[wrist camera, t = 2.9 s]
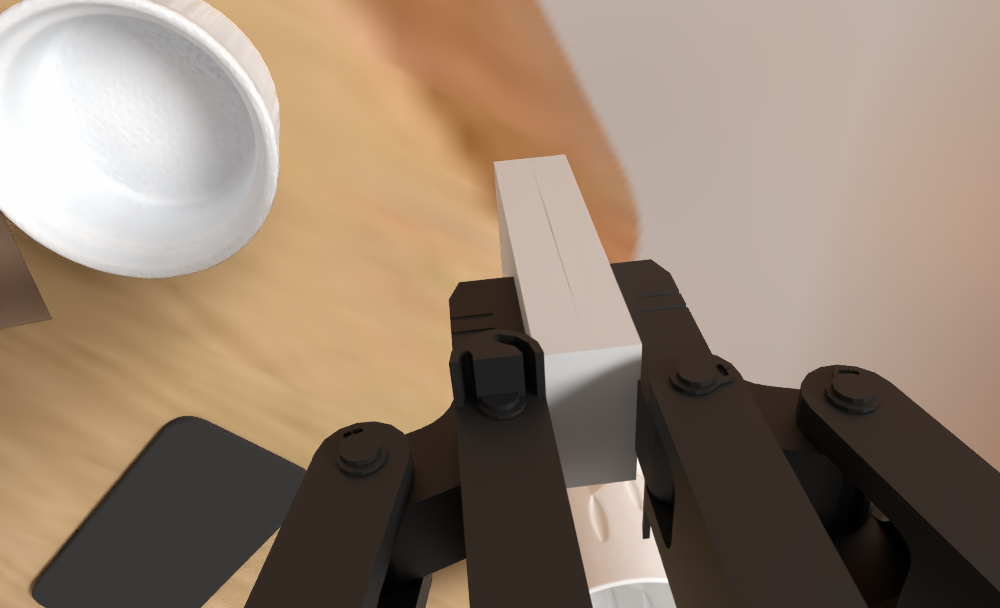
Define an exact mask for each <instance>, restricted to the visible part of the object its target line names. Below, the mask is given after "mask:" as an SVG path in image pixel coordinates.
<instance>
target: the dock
mask: <svg viewBox="0 0 1000 608" xmlns="http://www.w3.org/2000/svg"><path fill="white" fill-rule="evenodd" d="M50 319H52V318H51V315H50V313H49V311H48V309H47V307H46V305H45V303H44V301H43V299H42V297H41V295H40V293H39V290H38V288H37V286H36V284H35V282H34V280H33V278H32V276H31V274H30V272H29V270H28V267H27V265H26V263H25V261H24V259H23V257H22V255H21V253H20V251H19V249H18V247H17V244H16V242H15V240H14V238H13V236H12V234H11V232H10V230H9V228H8V226H7V224H6V221H5V219H4V217H3V215H2V213H1V211H0V329H1V328H7V327H12V326H17V325H23V324H28V323H34V322H39V321H44V320H50Z"/></svg>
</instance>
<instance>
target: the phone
mask: <svg viewBox="0 0 1000 608" xmlns="http://www.w3.org/2000/svg"><path fill="white" fill-rule="evenodd" d="M306 472H307V471H306V470H305V469H303V468H302V467H300V466H298V465H296V464H294V463H292V462H290V461H288V460H286V459H284V458H282V457H280V456H278V455H276V454H274V453H272V452H270V451H268V450H266V449H264V448H262V447H260V446H258V445H256V444H254V443H252V442H250V441H248V440H246V439H244V438H242V437H239V436H237V435H235V434H233V433H231V432H229V431H227V430H225V429H223V428H221V427H219V426H217V425H215V424H213V423H211V422H209V421H206V420H204V419H201V418H198V417H193V416H182V417H178V418H176V419H174V420H172V421H170V422H169V423H168V424H167V425H166V426H165V427H164V428H163V429H162V430H161V432H160V433H159V434H158V435H157V436H156V438H155V439H154V440H153V441H152V442H151V444H150V445H149V446H148V447H147V448H146V450H145V451H144V452H143V453H142V454H141V456H140V457H139V458H138V459H137V460H136V462H135V463H134V464H133V465H132V466H131V468H130V469H129V470H128V471H127V472H126V474H125V475H124V476H123V477H122V478H121V480H120V481H119V482H118V483H117V484H116V486H115V487H114V488H113V489H112V490H111V492H110V493H109V494H108V495H107V496H106V498H105V499H104V500H103V501H102V502H101V504H100V505H99V506H98V507H97V508H96V510H95V511H94V512H93V513H92V514H91V516H90V517H89V518H88V519H87V520H86V522H85V523H84V524H83V525H82V526H81V528H80V529H79V530H77V531H76V532H75V533H74V534H73V536H72V537H71V538H70V539H69V541H68V542H67V543H66V544H65V545H64V547H63V548H62V549H61V551H60V553H59V554H58V555H57V556H56V558H55V559H54V560H53V561H52V562H51V564H50V565H49V566H48V567H47V568H46V570H45V571H44V572H43V573H42V574H41V576H40V577H39V578H38V580H37V582H36V584H35V586H34V588H33V591H32V595H33V598H34V599H35V601H36V602H38V603H39V604H40V605H42V606H44V607H46V608H201V607H202V606H203V605H204V604H205V603H206V602H207V601H208V600H209V599H210V598H211V597H212V596H213V595H214V594H215V593H216V591H217V590H218V589H219V588H220V587H221V586H222V585H223V584H224V583H225V582H226V581H227V580H228V579H229V578H230V577H231V576H232V575H233V574H234V573H235V572H236V571H237V570H238V569H239V568H240V567H241V566H242V565H243V564H244V563H245V562H246V561H247V560H248V559H249V558H250V557H251V556H252V555H253V554H254V553H255V552H256V551H257V550H258V549H259V548H260V547H261V546H262V545H263V544H264V543H265V542H266V541H267V540H268V539H269V538H270V537H271V536H272V535H273V534H274V533H275V532H276V531H277V530H278V529H279V528H280V527H281V526H282V524H283V522H284V519H285V517H286V515H287V513H288V511H289V509H290V506H291V504H292V502H293V500H294V498H295V495H296V493H297V491H298V489H299V487H300V485H301V482H302V480H303V478H304V476H305V474H306Z"/></svg>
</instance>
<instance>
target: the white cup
mask: <svg viewBox="0 0 1000 608" xmlns="http://www.w3.org/2000/svg"><path fill="white" fill-rule="evenodd" d="M644 480H645V479H644V476H643V473H642V470H641V467H640V464H639V461H638V458H637V474H636V480H631V481H623V482H615V483H607V484H598V485H590V486H582V487H574V488H566V489H567V493H568V498H569V502H570V507H571V511H572V516H573V520H574V525H575V529H576V534H577V538H578V543H579V547H580V552H581V556H582V561H583V565H584V570H585V574H586V579H587V583H588V588H589V592H590V597H591V601H592V606H593V608H676V605H675V602H674V599H673V595H672V592H671V589H670V586H669V583H668V580H667V576H666V573H665V570H664V567H663V564H662V561H661V557H660V554H659V551H658V548H657V545H656V542H655V538H654V535H653V532H652V529H651V526H650V538H649V539H643V535H642V518H643V499H644Z"/></svg>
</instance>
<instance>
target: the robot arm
mask: <svg viewBox="0 0 1000 608" xmlns="http://www.w3.org/2000/svg"><path fill="white" fill-rule="evenodd" d="M494 171H495V184H496V196H497V209H498V221H499V234H500V246H501V259H502V271H503V277H504V278H495V279H486V280H477V281H468V282H459V284H458V285H457V287H456V289H455V290H454V292H453V294H452V295H451V297H450V299H449V307H450V320H451V334H452V348H453V351H452V352H451V357H450V361H449V367H450V375H451V382H452V389H453V397H454V400H453V402H452V404H451V406H450V408H449V409H448V410H447V411H446V412H445V413H444V415H443V416H441V417H440V418H439V419H437V420H436V421H434V422H433V423H431V424H429V425H427V426H425V427H423V428H421V429H419V430H416V431H413V432H410V433H408V434H405V435H404V433H403V432H401V431H400V430H398V429H397V428H395V427H394V426H392V425H389V424H384V423H380V422H364V423H356V424H353V425H350V426H347V427H345V428H342V429H339V430H338V431H336V432H335V433H333V434H332V435H331V436H329V437H328V438H326V439H325V440H324V441H323V443H322V444H321V445H320V447H319V448H318V449H317V451H316V452H315V454H314V456H313V458H312V461H311V463H310V465H309V467H308V469H307V472H306V474H305V476H304V478H303V480H302V482H301V485H300V487H299V489H298V491H297V493H296V495H295V498H294V500H293V502H292V504H291V506H290V509H289V511H288V513H287V515H286V517H285V519H284V522H283V524H282V526H281V528H280V530H279V532H278V535H277V537H276V539H275V541H274V543H273V545H272V548H271V550H270V552H269V554H268V556H267V559H266V561H265V563H264V565H263V567H262V569H261V572H260V574H259V576H258V578H257V580H256V582H255V585H254V587H253V589H252V591H251V593H250V596H249V598H248V600H247V602H246V604H245V606H244V608H425V607H426V603H427V598H428V594H429V590H430V586H431V582H432V573H433V572H436V571H438V570H440V569H443V568H445V567H447V566H449V565H452V564H454V563H456V562H459V561H461V560H463V559H465V558H466V561H467V575H468V588H469V602H470V608H593V606H592V601H591V597H590V592H589V588H588V583H587V579H586V574H585V570H584V565H583V561H582V556H581V552H580V547H579V543H578V538H577V534H576V529H575V525H574V520H573V516H572V511H571V507H570V502H569V498H568V493H567V489H566V488H574V487H582V486H590V485H598V484H607V483H615V482H623V481H631V480H636V474H637V458H638V461H639V464H640V467H641V470H642V473H643V476H644V479H645V480H644V499H643V518H642V535H643V539H649V538H650V526H651V529H652V532H653V535H654V538H655V542H656V545H657V548H658V551H659V554H660V557H661V561H662V564H663V567H664V570H665V573H666V576H667V580H668V583H669V586H670V589H671V592H672V595H673V599H674V602H675V605H676V608H1000V473H999V472H998V471H997V470H996V469H994V468H993V467H992V466H991V465H990V464H989V463H987V462H986V461H985V460H984V459H983V458H981V457H980V456H979V455H978V454H976V453H975V452H974V451H973V450H971V449H970V448H969V447H968V446H967V445H966V444H964V443H963V442H962V441H961V440H960V439H958V438H957V437H956V436H955V435H954V434H952V433H951V432H950V431H949V430H947V429H946V428H945V427H944V426H942V425H941V424H940V423H939V422H938V421H937V420H935V419H934V418H933V417H932V416H930V415H929V414H928V413H927V412H926V411H925V410H923V409H922V408H921V407H920V406H919V405H917V404H916V403H915V402H913V401H912V400H911V399H910V398H909V397H908V396H906V395H905V394H904V393H903V392H902V391H900V390H899V389H898V388H897V387H896V386H894V385H893V384H892V383H891V382H889V381H887V380H886V379H884V378H883V377H881V376H879V375H878V374H876V373H874V372H871V371H868V370H865V369H862V368H859V367H855V366H845V365H832V366H825V367H820V368H818V369H816V370H814V371H812V372H811V373H808V374H807V376H806V377H805V379H804V380H803V382H802V383H801V388H800V389H791V388H782V387H772V386H765V385H760V384H754V383H751V382H748V381H745V380H743V378H742V376H741V374H740V373H739V372H738V371H737V369H736V368H735V367H734V366H733V365H732V364H731V363H729V362H727V361H726V360H724V359H722V358H720V357H719V356H716V355H712V353H711V351H710V349H709V348H708V345H707V343H706V342H705V340H704V338H703V336H702V334H701V332H700V330H699V328H698V326H697V324H696V322H695V320H694V319H693V316H692V315H691V313H690V311H689V309H688V308H686V303H685V301H684V299H683V297H682V295H681V294H679V290H678V288H677V286H676V284H675V282H674V280H673V278H672V276H671V274H670V273H669V272H668V271H666V270H665V269H664V268H662V267H661V266H659V265H658V264H657V263H655V262H654V261H653V260H651V259H650V260H641V261H632V262H623V263H614V264H609V262H608V259H607V257H606V254H605V252H604V249H603V247H602V244H601V242H600V239H599V237H598V235H597V232H596V230H595V227H594V225H593V222H592V220H591V217H590V215H589V212H588V210H587V207H586V205H585V203H584V200H583V198H582V195H581V193H580V190H579V188H578V185H577V183H576V180H575V178H574V175H573V173H572V171H571V168H570V166H569V163H568V161H567V158H566V156H565V155H556V156H547V157H537V158H527V159H518V160H508V161H499V162H494Z"/></svg>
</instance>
